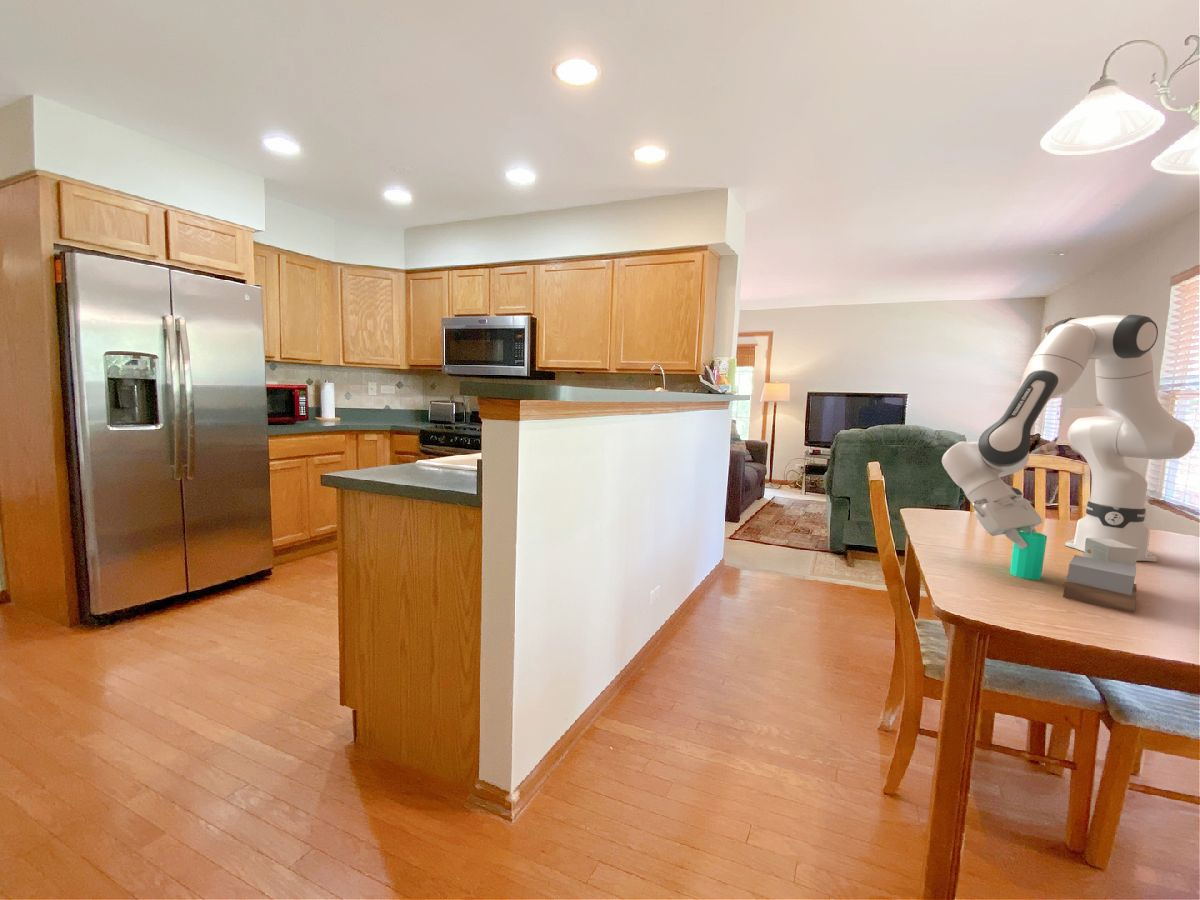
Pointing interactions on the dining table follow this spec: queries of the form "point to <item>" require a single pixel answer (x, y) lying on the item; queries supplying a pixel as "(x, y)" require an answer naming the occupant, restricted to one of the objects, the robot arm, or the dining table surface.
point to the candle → (1029, 556)
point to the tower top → (1102, 574)
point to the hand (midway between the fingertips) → (1032, 546)
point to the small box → (1110, 551)
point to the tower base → (1101, 596)
